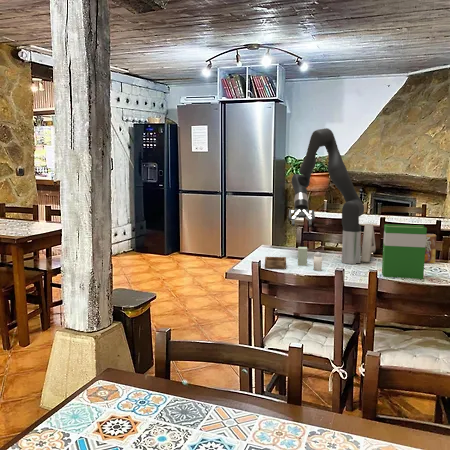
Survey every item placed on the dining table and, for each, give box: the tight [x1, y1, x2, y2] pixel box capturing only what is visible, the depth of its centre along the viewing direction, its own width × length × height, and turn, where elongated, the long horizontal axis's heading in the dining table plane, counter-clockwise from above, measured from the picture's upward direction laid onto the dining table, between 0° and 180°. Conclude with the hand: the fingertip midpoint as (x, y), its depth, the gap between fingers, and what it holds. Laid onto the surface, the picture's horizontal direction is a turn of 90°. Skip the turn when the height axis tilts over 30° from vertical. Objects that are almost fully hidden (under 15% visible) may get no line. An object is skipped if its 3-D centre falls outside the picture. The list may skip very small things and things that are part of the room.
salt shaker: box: [313, 251, 323, 272], centre depth 226 cm, size 4×4×9 cm
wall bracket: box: [360, 223, 377, 264], centre depth 257 cm, size 22×4×30 cm
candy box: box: [424, 233, 437, 264], centre depth 242 cm, size 9×4×15 cm, turn 81°
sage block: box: [297, 246, 308, 267], centre depth 236 cm, size 4×4×9 cm
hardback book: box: [381, 223, 428, 280], centre depth 214 cm, size 18×7×24 cm, turn 77°
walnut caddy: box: [264, 256, 287, 270], centre depth 232 cm, size 11×10×4 cm
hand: (301, 225), depth 247 cm, fingers open, 8 cm apart
